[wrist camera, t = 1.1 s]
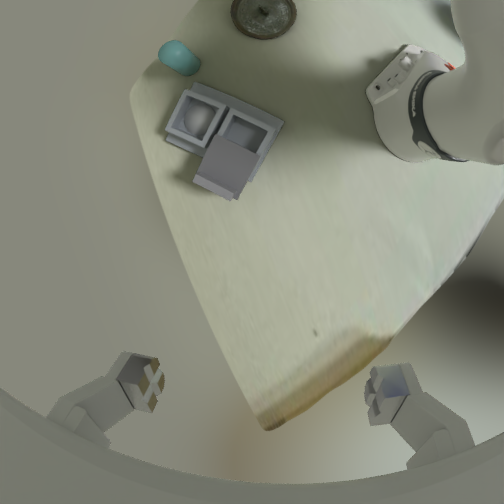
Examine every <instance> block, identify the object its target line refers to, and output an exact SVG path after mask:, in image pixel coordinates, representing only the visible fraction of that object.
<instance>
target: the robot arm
mask: <svg viewBox="0 0 504 504" xmlns="http://www.w3.org/2000/svg"><path fill="white" fill-rule="evenodd" d="M450 2H451V12H452V18H453V22H454V26H455V29H456V31H457V33H458V35H459V37H460V39H461V42H462V44H463V47H464V51H465V62H464V64H463V65H461V66H460V67H458V68H455V67H454V66H452V65H451V64H450V63H448V62H447V61H446V60H444V59H443V58H442V57H440V56H438V55H437V54H435V53H433V52H429V51H427V50H425V49H423V48H421V47H419V46H416V45H412V44H410V45H407V46H406V47H405V48H404V49H403V50H402V51H401V52H400V53H399V54H398V55H397V56H396V57H395V58H394V59H393V60H392V61H391V62H390V63H389V65H388V66H387V67H386V68H385V69H384V70H383V71H382V72H381V73H380V74H379V75H378V76H377V77H376V78H375V79H374V80H373V82H372V83H371V84H370V85H369V86H368V87H367V88H366V95H367V97H368V99H369V101H370V103H371V105H372V107H373V111H374V120H375V125H376V128H377V131H378V134H379V136H380V138H381V140H382V141H383V143H384V144H385V145H386V147H387V148H388V149H389V150H390V151H391V152H392V153H393V154H395V155H396V156H397V157H399V158H401V159H403V160H405V161H408V162H415V163H418V162H424V161H427V160H430V159H434V158H438V159H442V160H448V161H457V162H466V161H475V162H481V163H486V164H491V165H502V164H504V0H451V1H450ZM420 51H421V52H420ZM376 86H378V87H379V90H377V89H376ZM159 365H160V363H159V361H158V358H155V357H150V356H145V355H140V354H136V353H131V352H126V351H124V352H122V353H121V354H120V355H119V357H118V358H117V360H116V361H115V362H114V364H113V365H112V367H111V368H110V370H109V371H108V373H107V374H106V376H105V377H103V376H101V377H99V378H97V379H95V380H94V381H92V382H90V383H88V384H86V385H84V386H82V387H80V388H78V389H76V390H74V391H72V392H70V393H68V394H66V395H64V396H62V397H60V398H59V400H58V401H57V402H56V404H55V405H54V407H53V408H52V410H51V411H50V413H49V414H48V416H47V417H44V416H43V415H41V414H39V413H38V412H36V411H35V410H33V409H31V408H30V407H28V406H27V405H25V404H24V403H22V402H21V401H20V400H18V399H16V398H15V397H14V396H12V395H11V394H10V393H8V392H7V391H6V390H5V389H3V388H2V387H0V504H504V432H503V433H501V434H499V435H497V436H495V437H493V438H491V439H489V440H487V441H485V442H483V443H481V444H479V445H476V446H475V444H474V441H473V438H472V436H471V433H470V431H469V428H468V425H467V423H466V421H465V420H464V419H463V418H461V417H460V416H458V415H457V414H456V413H454V412H453V411H451V410H450V409H449V408H447V407H446V406H445V405H443V404H442V403H440V402H439V401H438V400H436V399H435V398H434V397H432V396H431V395H429V394H428V393H426V392H424V393H423V391H422V389H421V387H420V384H419V382H418V379H417V377H416V375H415V372H414V370H413V368H412V365H411V364H410V363H409V362H407V363H400V364H391V365H383V366H374V367H373V368H372V369H371V371H370V376H371V378H370V379H369V380H368V381H367V382H366V386H365V393H364V394H365V402H366V404H367V405H368V406H369V407H370V408H369V411H368V417H369V422H370V426H374V425H382V424H390V423H391V426H392V427H393V428H394V429H395V430H396V431H397V432H398V433H399V434H400V435H401V436H402V437H403V439H404V440H405V441H406V442H407V443H408V444H409V445H410V446H411V447H412V448H413V449H414V450H415V451H416V453H415V454H414V455H413V456H412V458H410V459H409V461H408V462H407V464H406V465H407V470H404V471H400V472H395V473H391V474H386V475H381V476H376V477H370V478H364V479H358V480H349V481H340V482H329V483H313V484H271V483H269V484H268V483H253V482H243V481H234V480H226V479H219V478H212V477H207V476H201V475H196V474H191V473H186V472H182V471H178V470H174V469H169V468H166V467H162V466H158V465H155V464H152V463H148V462H145V461H142V460H139V459H135V458H133V457H130V456H127V455H124V454H122V453H119V452H116V451H114V450H111V449H109V446H110V444H111V442H110V440H109V439H108V438H107V437H106V435H105V434H104V432H105V431H106V430H108V429H109V428H111V427H112V426H113V425H115V424H116V423H117V422H118V421H120V420H122V419H123V418H124V417H126V416H127V415H128V414H130V413H131V412H132V411H134V409H136V410H140V411H145V412H149V413H153V410H154V408H155V406H156V404H157V402H158V400H157V397H156V396H158V395H159V394H161V393H162V391H163V388H164V383H165V380H164V379H165V378H164V374H163V372H162V371H161V370H160V369H159V368H158V367H159Z"/></svg>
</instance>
